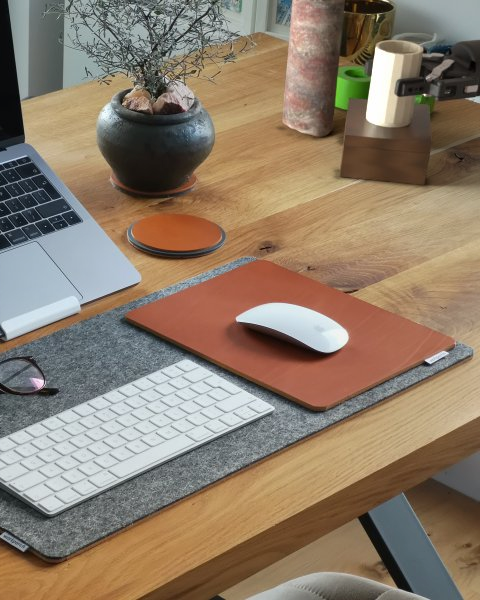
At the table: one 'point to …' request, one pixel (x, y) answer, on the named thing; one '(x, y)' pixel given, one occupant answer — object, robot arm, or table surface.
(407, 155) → the dark walnut wood block
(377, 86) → the pen cup
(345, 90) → the tape dispenser
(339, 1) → the candle
